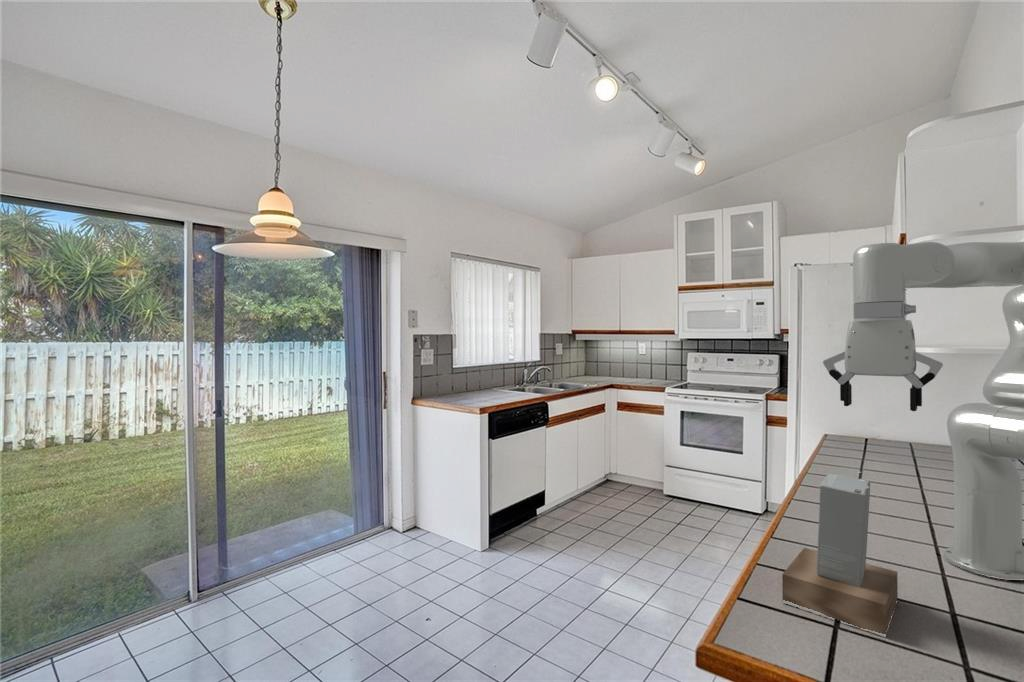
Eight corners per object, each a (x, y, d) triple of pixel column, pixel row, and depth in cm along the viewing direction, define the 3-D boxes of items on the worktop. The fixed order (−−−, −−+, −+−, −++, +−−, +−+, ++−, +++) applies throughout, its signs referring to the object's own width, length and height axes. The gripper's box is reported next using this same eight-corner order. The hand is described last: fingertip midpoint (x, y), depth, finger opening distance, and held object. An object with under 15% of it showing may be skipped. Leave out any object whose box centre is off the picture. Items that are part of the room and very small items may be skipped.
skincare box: (823, 558, 89) (822, 471, 88) (872, 570, 84) (871, 478, 84) (814, 576, 82) (814, 482, 82) (866, 590, 77) (866, 491, 77)
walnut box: (897, 600, 83) (897, 571, 83) (885, 638, 73) (885, 605, 73) (804, 573, 93) (804, 547, 93) (782, 603, 83) (782, 574, 83)
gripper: (943, 311, 85) (944, 409, 85) (827, 315, 97) (828, 401, 97) (941, 310, 80) (941, 415, 80) (818, 314, 92) (819, 405, 92)
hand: (879, 407), depth 89 cm, fingers open, 9 cm apart
